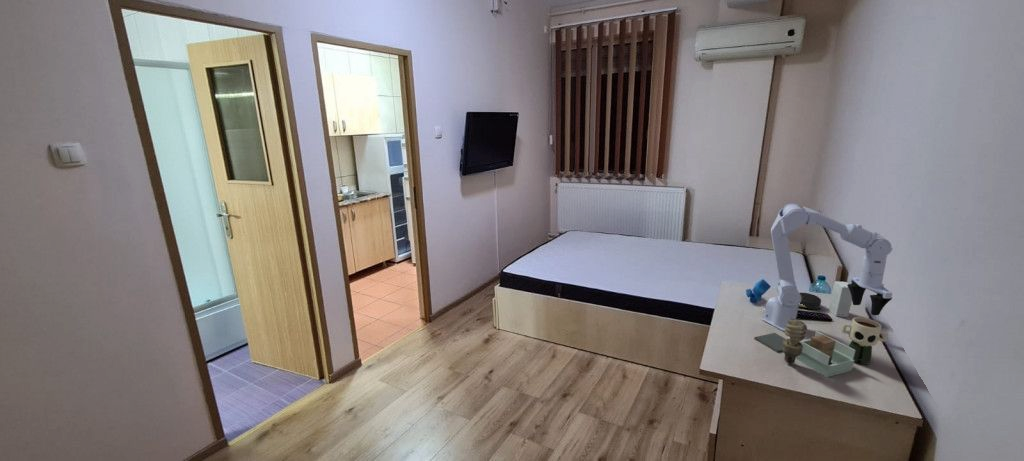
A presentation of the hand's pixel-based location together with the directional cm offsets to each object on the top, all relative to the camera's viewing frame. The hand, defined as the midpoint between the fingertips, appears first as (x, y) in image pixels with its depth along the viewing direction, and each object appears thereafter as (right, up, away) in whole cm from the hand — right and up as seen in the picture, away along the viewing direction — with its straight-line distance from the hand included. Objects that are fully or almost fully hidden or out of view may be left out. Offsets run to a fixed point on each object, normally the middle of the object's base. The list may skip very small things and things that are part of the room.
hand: (865, 309), depth 144 cm
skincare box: (+6, -5, +20) cm, 22 cm away
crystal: (-19, -2, +31) cm, 37 cm away
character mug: (-10, -14, -9) cm, 20 cm away
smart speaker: (-1, -4, +27) cm, 27 cm away
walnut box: (-23, -14, -10) cm, 29 cm away
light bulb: (-33, -15, -11) cm, 38 cm away
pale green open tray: (-23, -14, -10) cm, 29 cm away
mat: (-30, -11, 0) cm, 32 cm away
